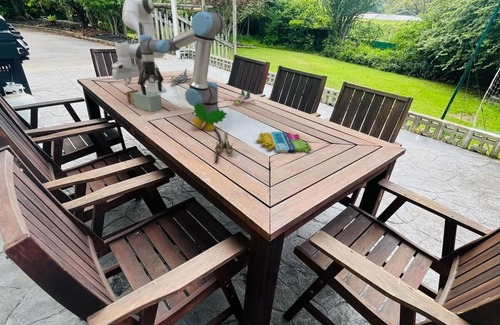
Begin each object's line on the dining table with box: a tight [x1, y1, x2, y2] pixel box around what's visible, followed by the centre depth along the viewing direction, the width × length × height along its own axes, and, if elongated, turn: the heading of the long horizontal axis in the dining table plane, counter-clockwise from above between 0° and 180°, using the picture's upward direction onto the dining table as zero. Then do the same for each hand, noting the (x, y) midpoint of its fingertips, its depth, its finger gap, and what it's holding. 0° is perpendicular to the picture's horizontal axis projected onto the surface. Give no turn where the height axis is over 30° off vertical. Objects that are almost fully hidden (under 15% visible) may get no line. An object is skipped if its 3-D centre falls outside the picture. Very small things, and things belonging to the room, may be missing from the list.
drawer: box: [123, 89, 140, 105], centre depth 195 cm, size 22×9×8 cm, turn 58°
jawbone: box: [214, 131, 234, 156], centre depth 136 cm, size 9×15×10 cm
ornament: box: [191, 102, 228, 132], centre depth 162 cm, size 21×8×15 cm, turn 105°
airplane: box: [168, 68, 193, 87], centre depth 266 cm, size 38×31×10 cm
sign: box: [256, 131, 312, 154], centre depth 152 cm, size 26×2×30 cm
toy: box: [223, 89, 257, 106], centre depth 219 cm, size 28×7×30 cm
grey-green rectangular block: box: [133, 90, 163, 113], centre depth 190 cm, size 17×10×10 cm, turn 58°
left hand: (128, 84), depth 194 cm, fingers closed
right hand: (152, 93), depth 184 cm, fingers open, 13 cm apart
